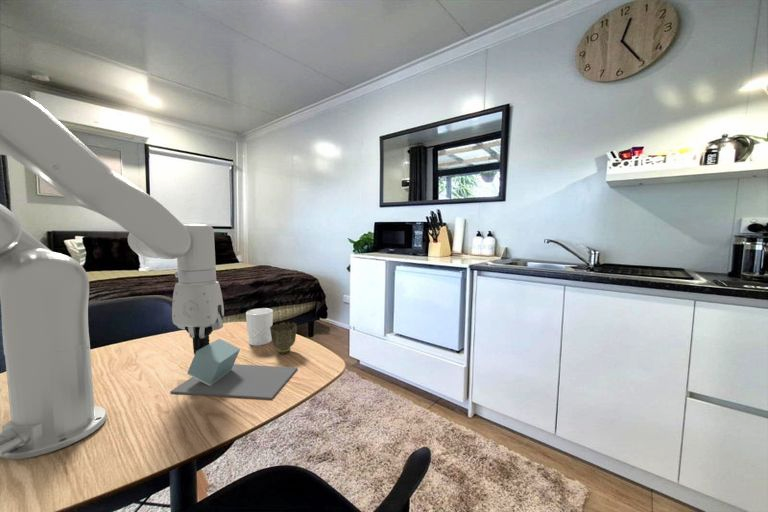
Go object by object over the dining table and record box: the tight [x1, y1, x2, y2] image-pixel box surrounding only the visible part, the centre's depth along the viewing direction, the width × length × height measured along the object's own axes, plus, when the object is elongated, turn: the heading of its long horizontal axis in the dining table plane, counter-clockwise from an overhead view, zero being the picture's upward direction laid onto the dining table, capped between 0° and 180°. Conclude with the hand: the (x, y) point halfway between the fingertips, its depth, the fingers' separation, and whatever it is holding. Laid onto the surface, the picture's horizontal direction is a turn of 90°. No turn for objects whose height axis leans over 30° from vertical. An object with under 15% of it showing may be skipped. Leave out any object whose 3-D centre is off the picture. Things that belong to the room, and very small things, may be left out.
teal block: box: [186, 338, 241, 386], centre depth 71 cm, size 8×6×6 cm
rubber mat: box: [170, 363, 298, 400], centre depth 70 cm, size 14×23×1 cm, turn 85°
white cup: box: [245, 307, 274, 347], centre depth 95 cm, size 8×8×10 cm
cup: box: [270, 321, 298, 355], centre depth 87 cm, size 8×7×8 cm
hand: (201, 352), depth 71 cm, fingers closed
